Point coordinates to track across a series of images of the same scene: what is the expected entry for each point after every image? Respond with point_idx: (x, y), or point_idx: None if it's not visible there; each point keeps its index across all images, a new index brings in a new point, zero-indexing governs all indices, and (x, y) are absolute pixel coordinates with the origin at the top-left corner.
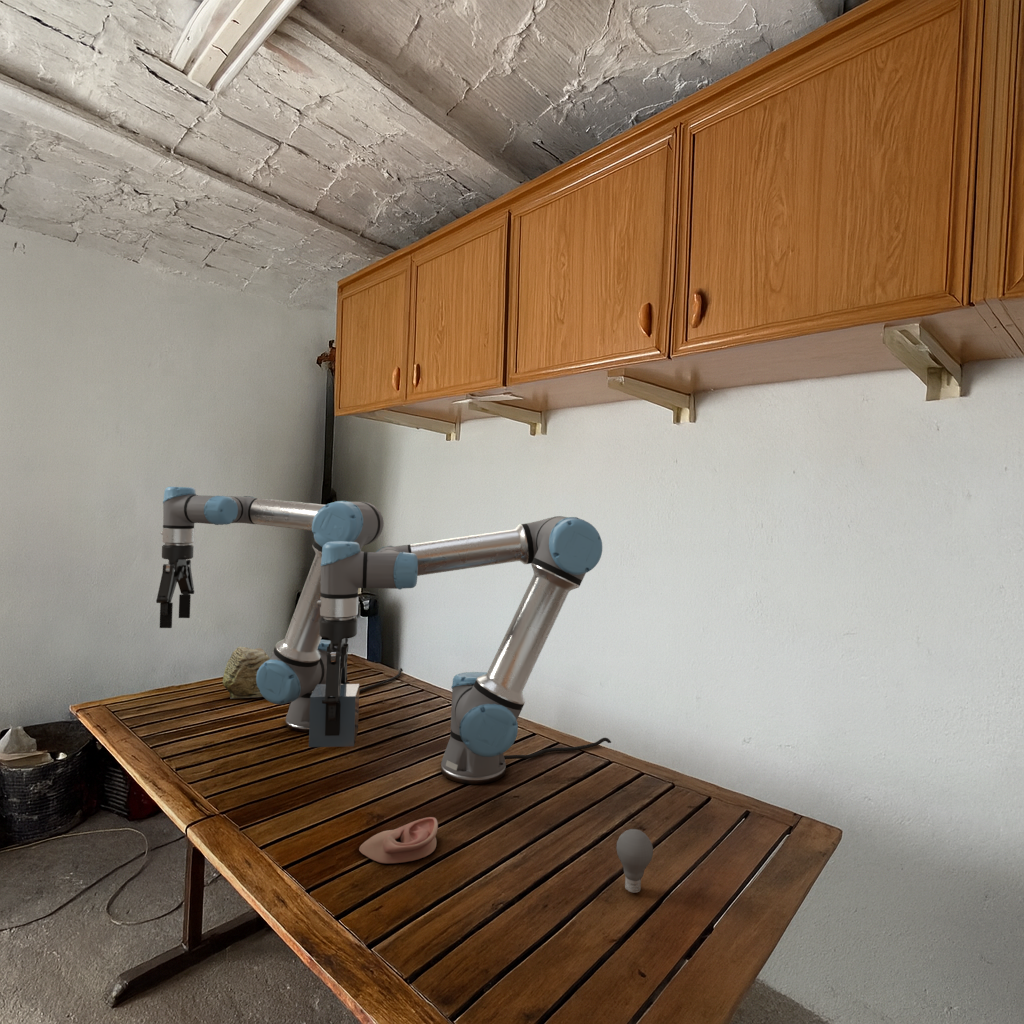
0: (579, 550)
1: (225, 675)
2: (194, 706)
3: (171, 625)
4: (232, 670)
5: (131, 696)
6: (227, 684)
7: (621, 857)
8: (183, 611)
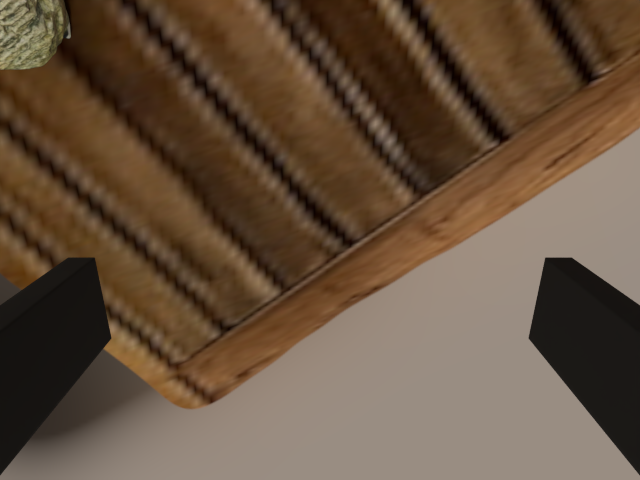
0: None
1: (12, 55)
2: (162, 138)
3: (567, 266)
4: (16, 7)
5: None
6: (57, 38)
7: None
8: (70, 338)
